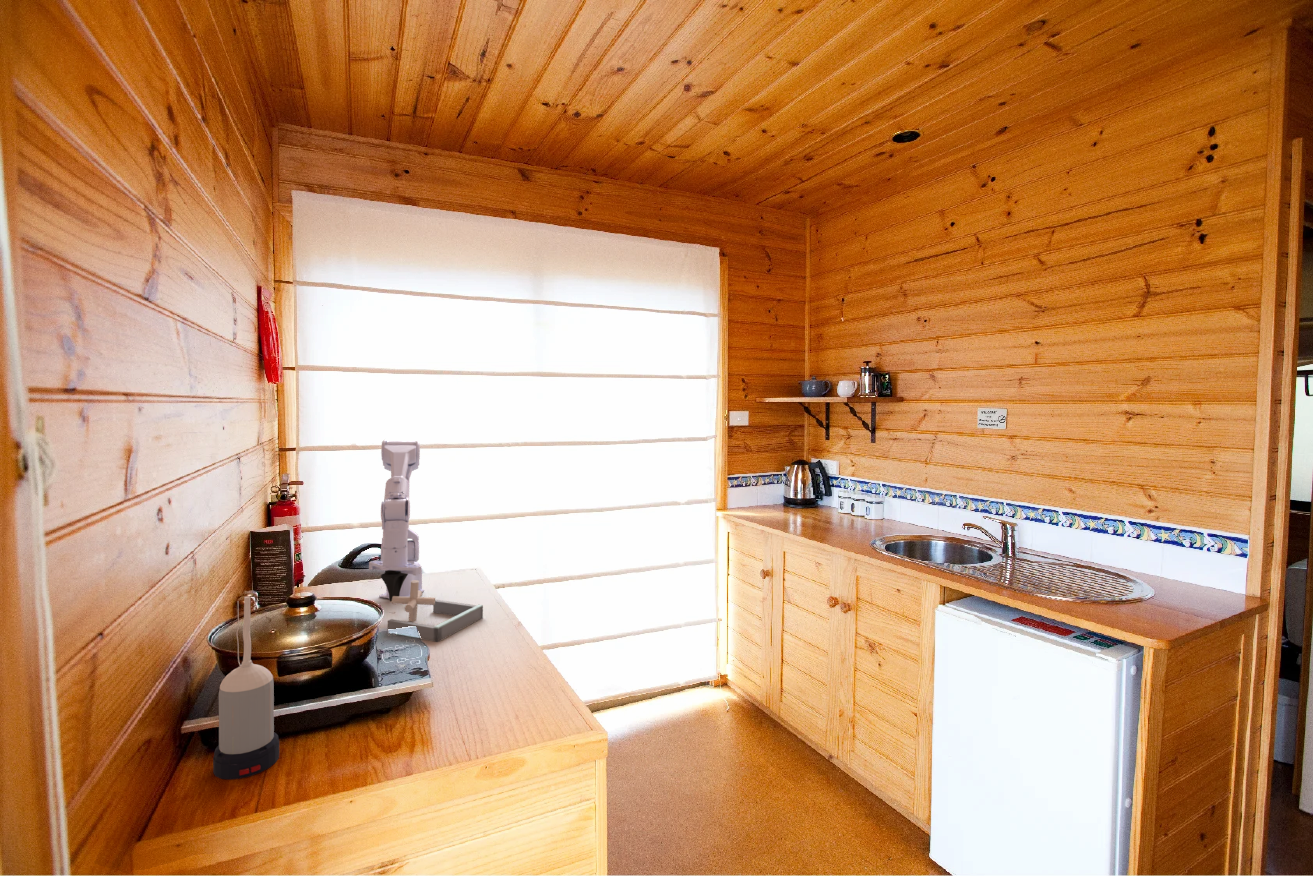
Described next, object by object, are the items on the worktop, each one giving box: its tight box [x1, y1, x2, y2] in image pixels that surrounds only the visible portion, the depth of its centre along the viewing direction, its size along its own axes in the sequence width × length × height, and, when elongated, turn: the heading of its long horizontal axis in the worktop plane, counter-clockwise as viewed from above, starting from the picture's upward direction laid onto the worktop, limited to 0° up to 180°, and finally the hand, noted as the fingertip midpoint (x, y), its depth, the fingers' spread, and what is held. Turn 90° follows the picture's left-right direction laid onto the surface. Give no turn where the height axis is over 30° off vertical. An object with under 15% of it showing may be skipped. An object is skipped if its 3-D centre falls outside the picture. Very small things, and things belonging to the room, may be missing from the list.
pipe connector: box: [391, 580, 436, 623], centre depth 151 cm, size 10×10×10 cm
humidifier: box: [212, 595, 280, 781], centre depth 90 cm, size 8×8×25 cm
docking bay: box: [387, 599, 484, 643], centre depth 149 cm, size 14×17×3 cm
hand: (394, 600), depth 152 cm, fingers closed, pressing on pipe connector
